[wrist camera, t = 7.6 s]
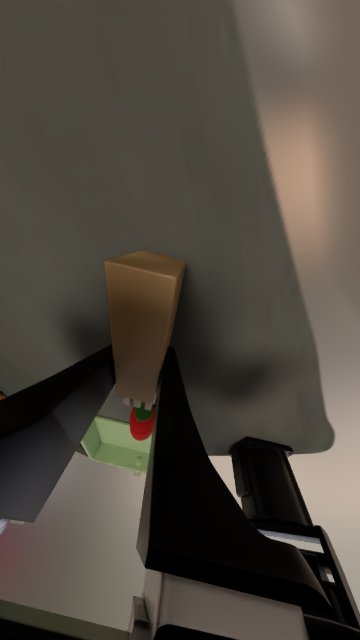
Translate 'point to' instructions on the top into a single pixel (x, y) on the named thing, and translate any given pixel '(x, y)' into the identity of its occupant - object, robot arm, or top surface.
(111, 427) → the tray
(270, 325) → the top surface
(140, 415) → the strawberry
